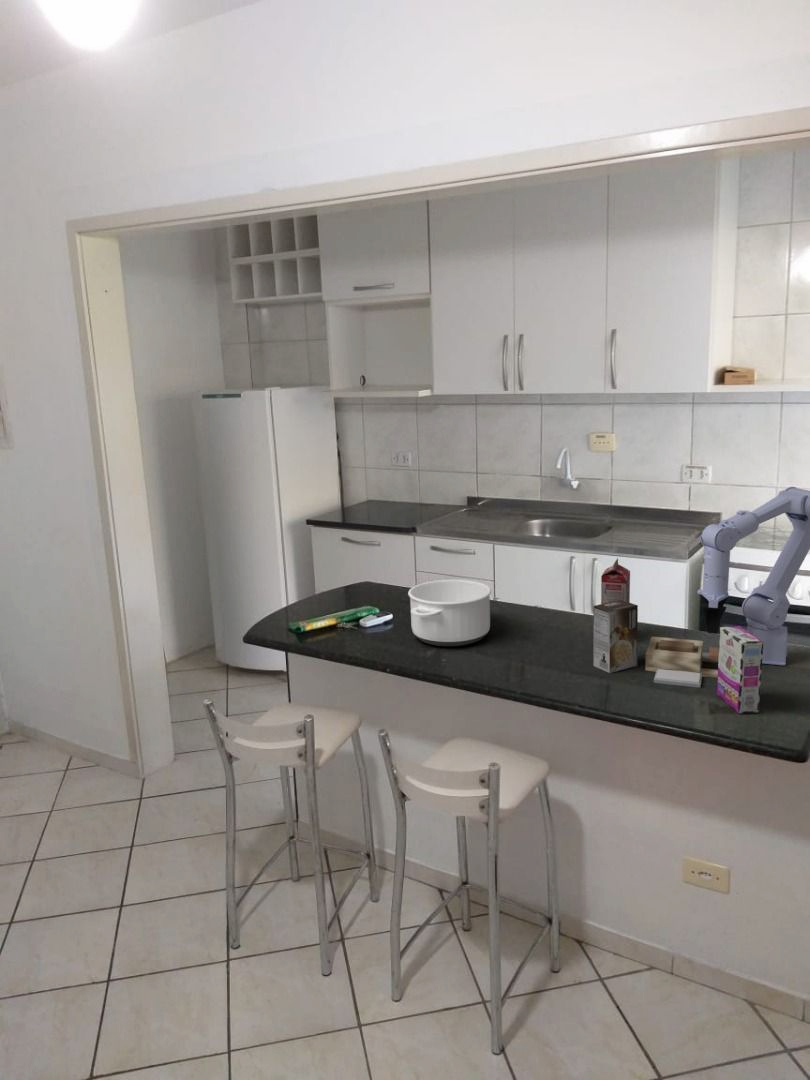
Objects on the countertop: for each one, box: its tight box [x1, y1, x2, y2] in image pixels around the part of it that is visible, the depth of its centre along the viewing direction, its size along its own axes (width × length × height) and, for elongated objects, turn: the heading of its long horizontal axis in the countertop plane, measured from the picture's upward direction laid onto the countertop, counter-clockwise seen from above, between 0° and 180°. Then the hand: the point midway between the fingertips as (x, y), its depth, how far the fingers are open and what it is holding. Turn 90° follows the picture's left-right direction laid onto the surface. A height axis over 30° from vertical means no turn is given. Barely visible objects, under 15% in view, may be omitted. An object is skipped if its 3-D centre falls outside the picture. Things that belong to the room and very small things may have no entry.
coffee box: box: [592, 600, 639, 674], centre depth 211 cm, size 9×6×16 cm
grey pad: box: [653, 669, 703, 689], centre depth 202 cm, size 10×6×1 cm, turn 68°
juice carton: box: [600, 557, 631, 604], centre depth 229 cm, size 7×7×22 cm
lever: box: [658, 646, 719, 660], centre depth 210 cm, size 15×6×2 cm, turn 68°
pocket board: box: [644, 636, 718, 679], centre depth 211 cm, size 17×13×4 cm
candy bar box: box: [716, 625, 764, 715], centre depth 186 cm, size 11×5×16 cm, turn 5°
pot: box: [407, 579, 492, 647], centre depth 238 cm, size 33×23×14 cm
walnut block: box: [659, 640, 694, 653], centre depth 211 cm, size 8×4×2 cm, turn 68°
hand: (712, 628), depth 207 cm, fingers open, 7 cm apart
